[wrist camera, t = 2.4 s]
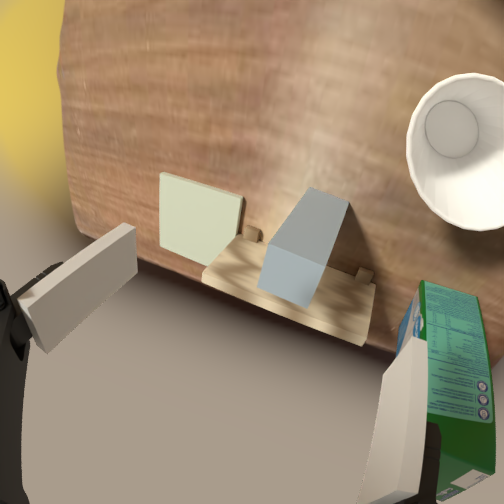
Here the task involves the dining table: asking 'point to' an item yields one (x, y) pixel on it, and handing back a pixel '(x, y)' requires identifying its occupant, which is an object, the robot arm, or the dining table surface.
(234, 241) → the birch screen
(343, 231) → the dining table surface
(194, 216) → the mat
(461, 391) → the milk carton
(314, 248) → the block
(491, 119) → the cup
